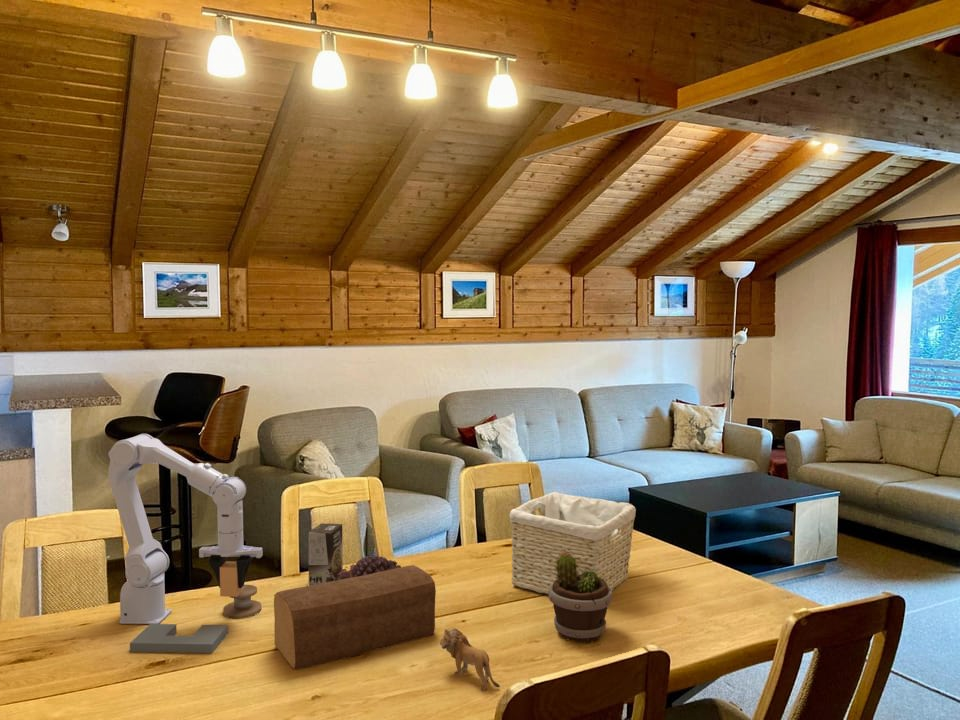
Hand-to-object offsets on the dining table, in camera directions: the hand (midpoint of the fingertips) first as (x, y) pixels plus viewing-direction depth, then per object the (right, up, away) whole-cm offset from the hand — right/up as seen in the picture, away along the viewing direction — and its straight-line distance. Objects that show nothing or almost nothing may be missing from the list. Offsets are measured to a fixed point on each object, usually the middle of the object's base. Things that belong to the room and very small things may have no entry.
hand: (231, 586), depth 182 cm
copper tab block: (0, -2, 0) cm, 2 cm away
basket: (+84, -8, +28) cm, 89 cm away
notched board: (-8, -9, -11) cm, 16 cm away
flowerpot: (+82, -10, -4) cm, 83 cm away
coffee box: (+18, -7, +24) cm, 31 cm away
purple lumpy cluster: (+31, -8, +20) cm, 37 cm away
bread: (+31, -10, -9) cm, 34 cm away
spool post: (0, -8, +7) cm, 11 cm away
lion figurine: (+57, -11, -26) cm, 63 cm away
